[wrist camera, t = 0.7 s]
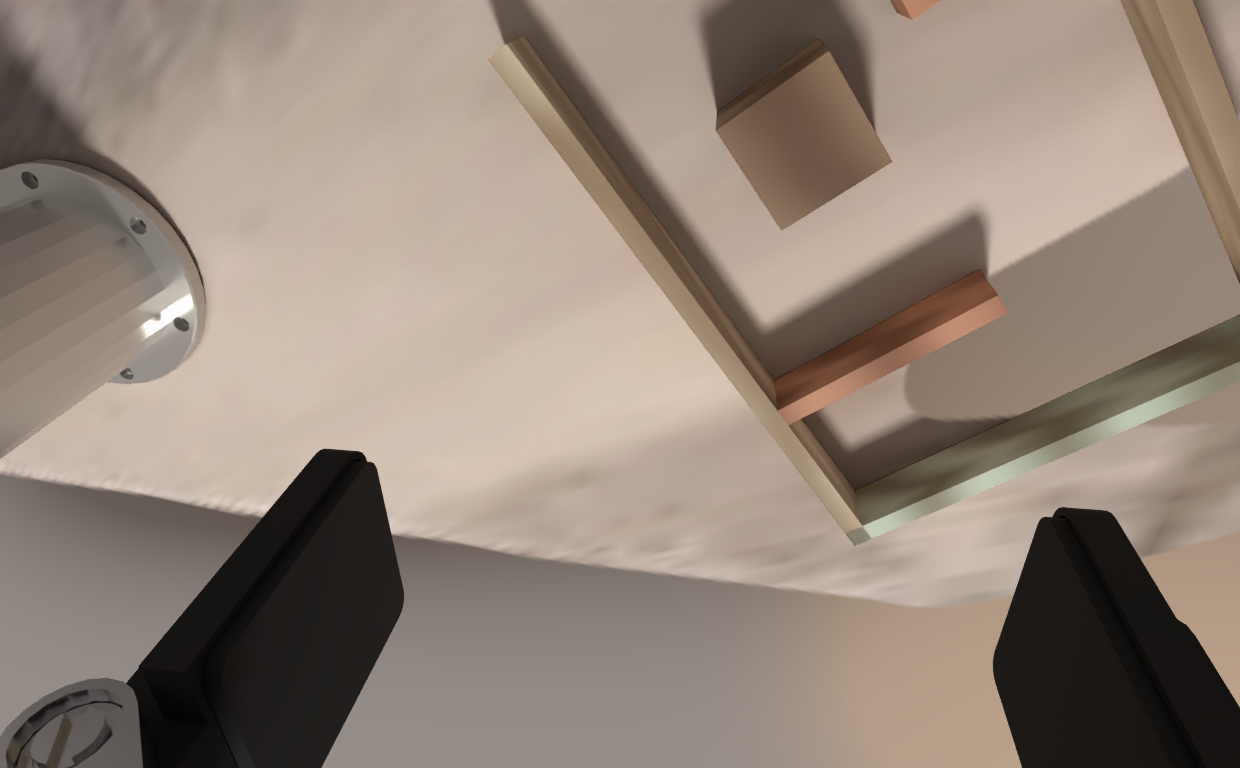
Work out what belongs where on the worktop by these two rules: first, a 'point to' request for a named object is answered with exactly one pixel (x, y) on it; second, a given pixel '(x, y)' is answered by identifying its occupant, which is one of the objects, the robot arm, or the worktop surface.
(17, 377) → the robot arm
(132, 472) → the worktop surface
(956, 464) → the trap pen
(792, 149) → the block
